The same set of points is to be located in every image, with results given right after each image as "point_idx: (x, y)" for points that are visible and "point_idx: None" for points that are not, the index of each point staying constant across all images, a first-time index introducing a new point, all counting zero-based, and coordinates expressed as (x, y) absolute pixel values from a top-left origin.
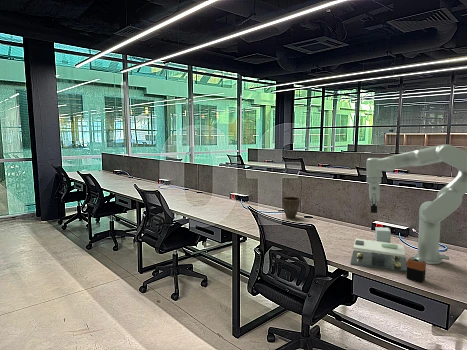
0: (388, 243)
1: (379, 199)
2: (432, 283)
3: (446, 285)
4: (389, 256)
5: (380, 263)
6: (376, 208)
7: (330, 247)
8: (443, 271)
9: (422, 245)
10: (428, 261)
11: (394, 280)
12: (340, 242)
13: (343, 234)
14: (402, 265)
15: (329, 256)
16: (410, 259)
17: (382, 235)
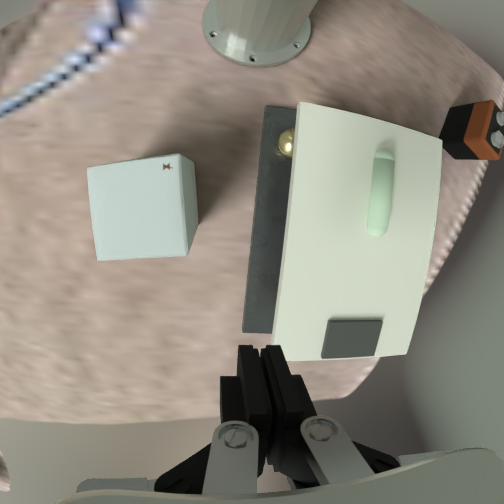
0: (305, 183)
1: (497, 459)
2: (459, 96)
3: (457, 65)
4: (286, 175)
5: None
6: (291, 387)
7: (214, 407)
8: (363, 17)
9: (305, 15)
10: (305, 29)
11: (469, 199)
12: (129, 376)
13: (23, 355)
14: None
15: (319, 397)
16: (496, 147)
17: (189, 210)
